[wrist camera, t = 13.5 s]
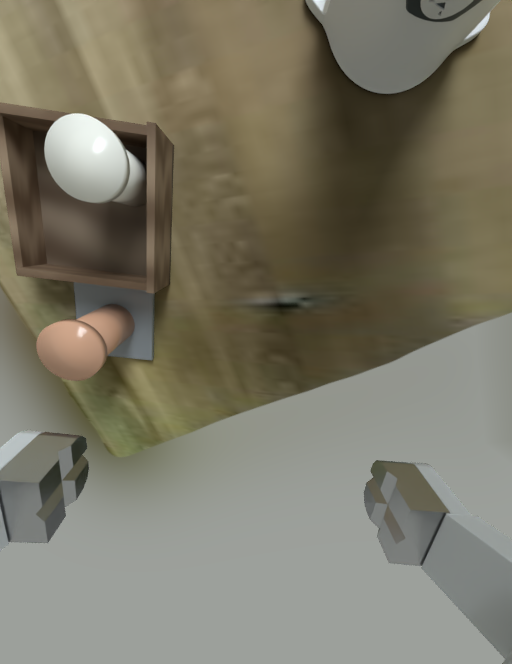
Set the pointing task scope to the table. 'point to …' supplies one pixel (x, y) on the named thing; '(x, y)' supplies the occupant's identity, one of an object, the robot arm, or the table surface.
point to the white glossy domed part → (94, 162)
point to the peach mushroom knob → (84, 341)
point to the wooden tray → (85, 209)
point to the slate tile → (130, 299)
